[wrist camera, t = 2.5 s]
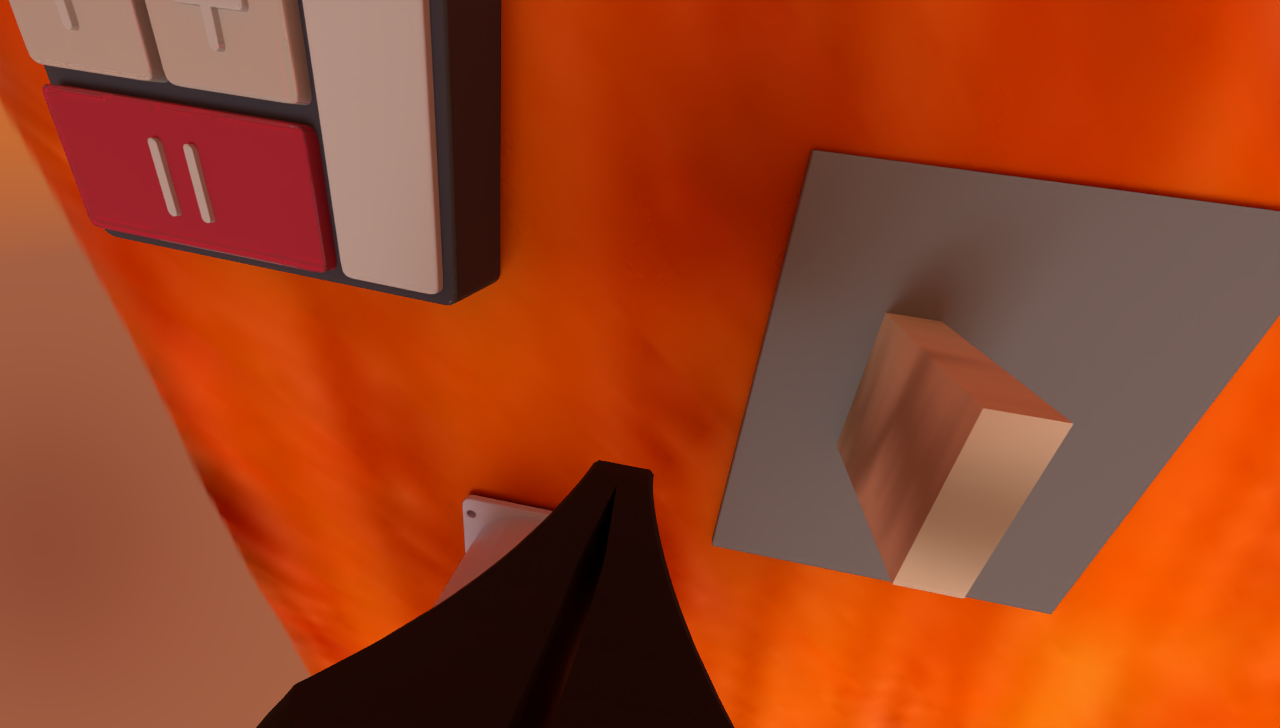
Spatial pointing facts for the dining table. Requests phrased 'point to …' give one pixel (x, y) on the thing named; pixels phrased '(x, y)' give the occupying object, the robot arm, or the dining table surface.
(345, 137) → the calculator
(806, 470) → the mat
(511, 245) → the dining table surface
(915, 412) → the maple tile
